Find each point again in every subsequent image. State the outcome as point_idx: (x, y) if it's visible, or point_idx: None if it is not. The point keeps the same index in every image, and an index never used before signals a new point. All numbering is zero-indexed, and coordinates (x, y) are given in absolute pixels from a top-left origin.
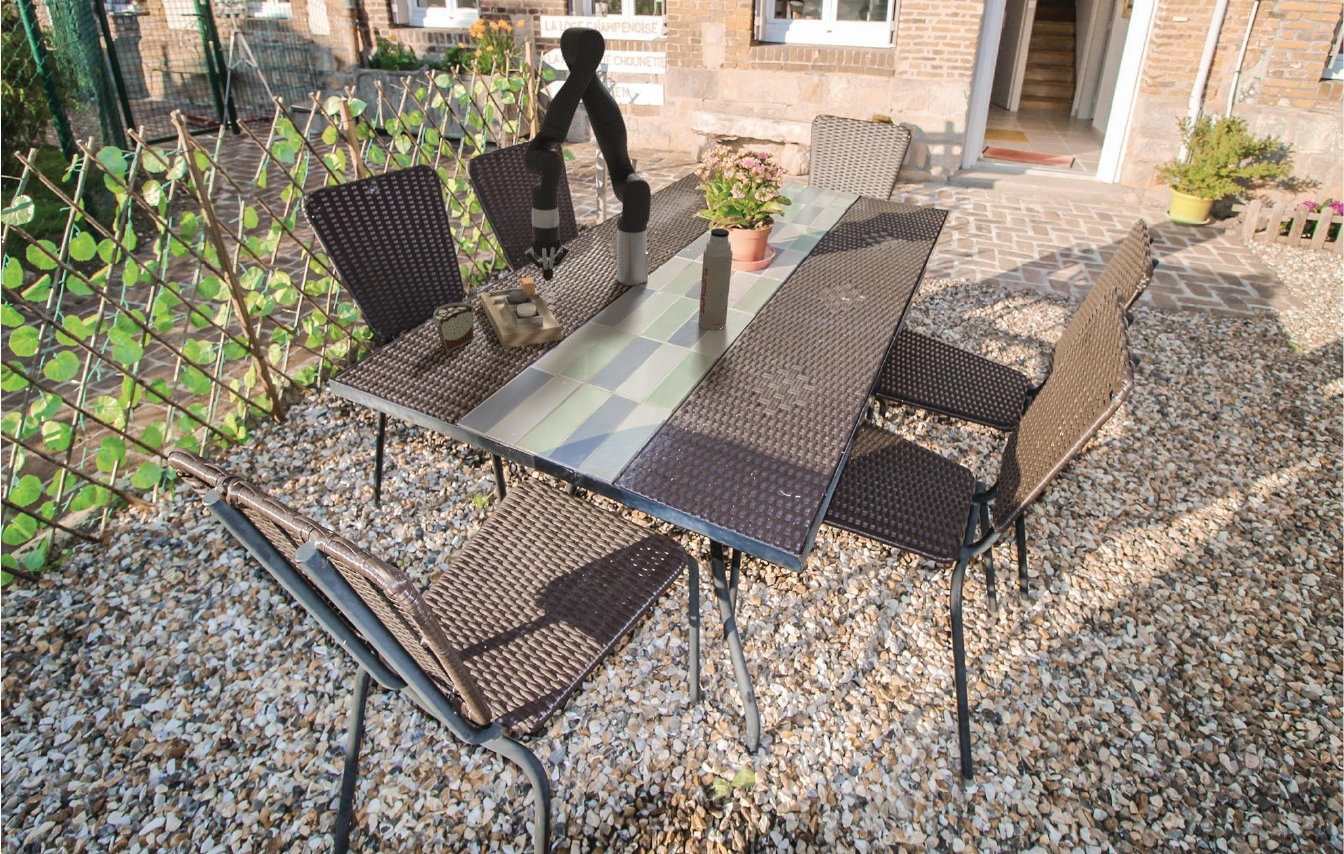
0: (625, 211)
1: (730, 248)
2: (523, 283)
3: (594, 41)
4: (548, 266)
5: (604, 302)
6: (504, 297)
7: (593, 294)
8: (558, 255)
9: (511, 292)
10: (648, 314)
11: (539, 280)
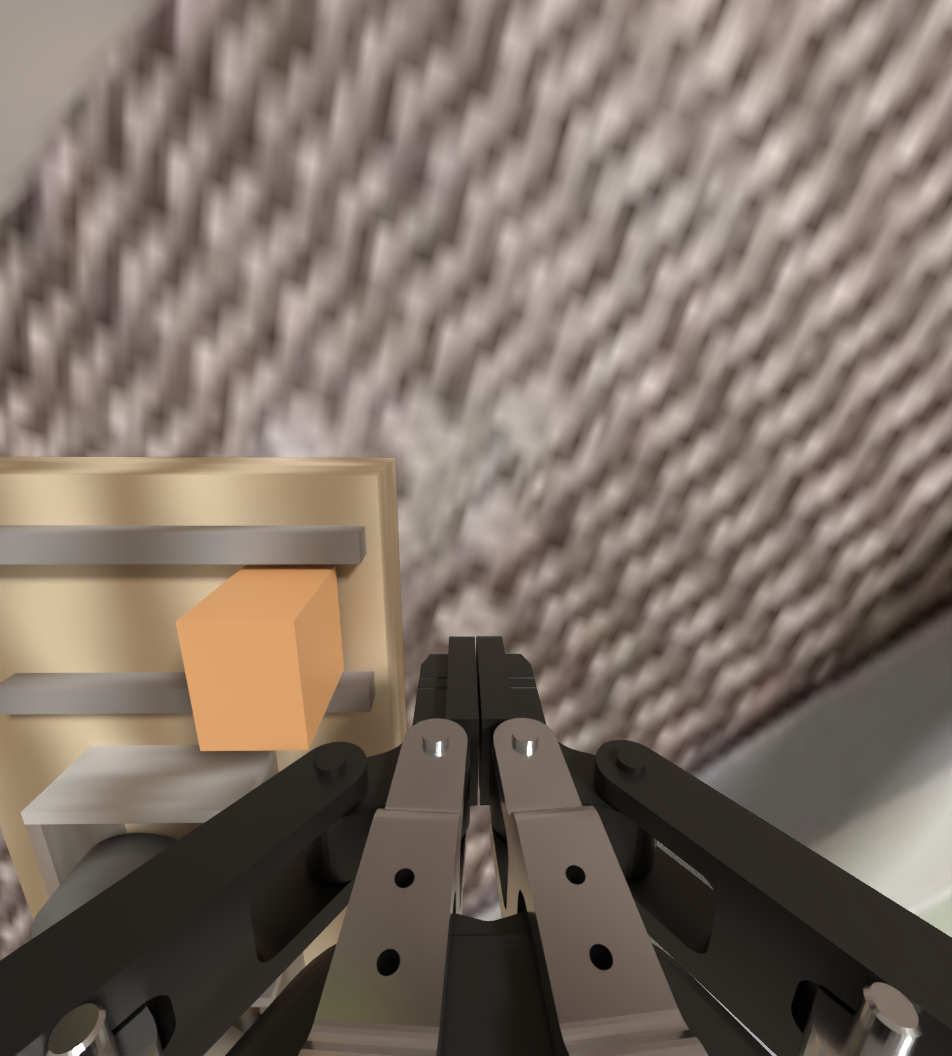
0: None
1: None
2: (199, 724)
3: None
4: (491, 810)
5: (813, 654)
6: (32, 837)
7: (814, 521)
8: (738, 938)
9: (55, 911)
10: (942, 847)
11: (529, 74)
